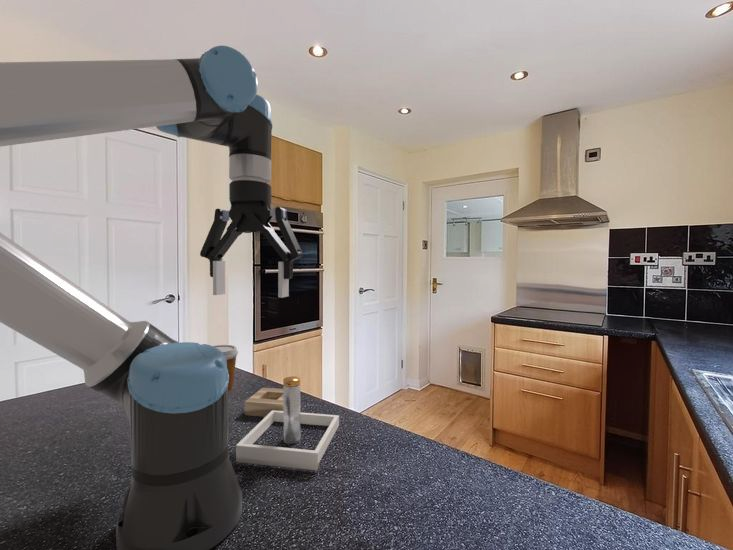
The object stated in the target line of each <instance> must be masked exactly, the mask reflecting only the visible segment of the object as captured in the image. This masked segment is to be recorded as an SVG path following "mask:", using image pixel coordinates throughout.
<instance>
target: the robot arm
mask: <svg viewBox="0 0 733 550" xmlns="http://www.w3.org/2000/svg"><path fill="white" fill-rule="evenodd" d="M258 86H259V83H258V78H257V73H256V71H255V69H254V67H253V64H252V63H251V62H250V60H249V59H248V58H247V57H246V56H245V55H244V53H241V52H240V51H239V50H237V49H235V48H233V47H232V46H228V45H217V46H213V47H212V48H210V49H209V50H206V51H205V52H204V53H202V54H201V56H200V57H197V58H175V59H174V58H172V59H170V58H169V59H120V60H119V59H117V60H116V59H113V60H111V59H110V60H108V59H107V60H65V61H63V60H62V61H56V60H55V61H50V60H49V61H8V62H7V61H2V62H0V148H1V147H8V146H15V145H16V146H17V145H21V144H22V145H23V144H30V143H38V142H39V143H40V142H45V141H52V140H53V141H54V140H59V139H69V138H75V137H76V138H77V137H83V136H93V135H99V134H105V133H106V134H107V133H115V132H122V131H129V130H130V131H131V130H137V129H145V128H153V127H156V129H157V130H159V131H160V132H163V133H164V134H165V133H166V134H169V135H173V136H174V137H175V136H176V137H177V138H186V139H190V140H196V141H201V142H203V143H204V142H205V143H210V144H213V145H219V146H224V147H228V152H229V155H228V158H229V162H228V163H229V165H228V167H229V168H228V169H229V170H228V171H229V172H228V175H229V176H228V177H229V180H231V182H230V183H229V184H228V185H229V189H228V190H229V193H228V194H229V195H228V196H229V198H228V199H229V202H230V209H229V210H225V209H222V208H215V210H214V216H213V219H214V220H213V222H212V223H211V227H210V229H209V231H208V233H207V236H206V239H205V240H204V243H203V246H202V247H201V250H200V252H199V255H200V257H201V258H206V259H208V261H209V277H210V278H212V295H213V296H221V295H225V294H226V261H225V260H224V259H223V258H224V256H225V255H226V253H228V251H229V249H230V248H231V247H232V246H233V244H234V243H235V242H236V240H237V239H238V237H240V236H241V235H242V234H243V233H244V234H251V233H255V234H261V235H263V236H264V237H265V238H266V240H267V241H268V243H269V244H270V245H271V246H272V248H273V249H274V251H275V252H276V253H277V254H278V255H279V257H280V259H281V260H280V261H277V262H278V263H277V264H278V267H277V269H278V270H277V271H278V273H277V274H278V276H277V280H278V282H277V285H278V286H277V287H278V289H277V290H278V293H277V296H278V298H281V299H283V298H287V297H290V293H289V292H290V289H289V288H290V287H289V286H290V285H289V283H290V282H289V281H290V280H291V279H293V277H294V262H295V261H296V260H298V259H301V258H303V257H304V253H303V250H302V249H301V246H300V243H298V239H297V238H296V235H295V234H294V231H293V229H292V227H291V224H290V222H289V219H288V212H287V211H288V210H287V209H285V208H283V207H280V206H277V207H276V208H273V209H272V208H271V206H272V186H271V185H270V183H271V182H272V134H273V133H272V130H273V122H272V121H273V119H272V112H271V111H272V108H271V104H270V103H269V101H268V100H267V99H266V98H265V97H263V96H261V95H260V94H257V93H258V90H259V89H258V88H259V87H258ZM272 218H273V220H275V222H276V224H277V226H278V229H279V231H280V233H281V235H282V237H283V239H284V242H285V243H284V242H283V241H282V240H281V238H280V236H278V234H277V233H276V232H275V228H273V226H272V225H271V224H270V221H271V219H272ZM230 220H231V221H230ZM228 221H230V224H229V225H228ZM227 225H228V226H227ZM226 227H227V228H226ZM225 229H226V231H225ZM224 232H225V233H224ZM223 233H224V234H223ZM285 244H286V245H285ZM0 323H1V324H3V325H5V326H6V327H8V328H9V329H11V330H13V331H15V332H16V333H18V334H20V335H22V336H24V337H25V338H27V339H28V340H30V341H32V342H35V343H36V344H38V345H40V346H41V347H43V348H45V349H46V350H48V351H50V352H52V353H53V354H55V355H57V356H58V357H60V358H62V359H63V360H65V361H67V362H69V363H70V364H73V365H75V366H76V367H78V368H80V369H81V370H82V371H83V377H84V385H85V386H87V387H88V388H90V389H92V390H93V391H95V392H97V393H98V394H101V395H103V396H104V397H106V398H108V399H109V400H111V401H113V402H115V403H117V404H119V405H120V406H121V407H123V409H124V412H125V413H126V416H127V419H128V421H129V422H128V423H129V431H130V464H131V480H130V483H129V486H128V488H127V492H126V494H125V495H126V496H125V497H124V501H123V503H122V504H123V505H122V508H121V511H120V514H119V517H118V519H117V522H116V527H115V539H116V540H115V542H116V543H115V544H116V546H115V547H116V550H211V549H213V548H214V547H215V546H217V545H218V544H220V543H221V542H222V541H224V539H225V538H227V537H228V535H230V534H231V533H232V532H233V530H234V528H236V526H237V525H238V523H239V521H240V519H241V516H242V514H243V513H242V512H243V492H242V488H241V485H240V483H239V481H238V478H237V475H236V472H235V469H234V467H233V463H232V462H231V459H230V456H229V391H228V383H229V374H228V369H227V361H226V358H225V355H224V354H223V353H222V352H221V351H220V350H219V349H217V348H216V347H214V346H215V345H210V344H207V343H203V344H200V343H199V342H194V341H193V342H192V341H190V342H187V341H186V342H185V341H184V342H179V341H177V340H176V339H173V338H171V337H170V336H169V335H167V334H166V333H165V332H163V331H162V330H160V329H159V328H157V326H155V325H153V324H151V323H150V322H149V321H147V320H141V321H129V320H127V319H126V318H125V317H123V316H122V315H120V314H119V313H118V312H116V311H115V310H113V309H112V308H110V307H109V306H107V305H106V303H105V304H104V302H101V300H99V299H97V298H96V297H94V296H93V295H92V294H90V293H89V292H88V291H85V289H83V288H81V287H80V286H78V285H77V284H76V283H74V282H73V281H71V280H70V279H68V278H67V277H65V276H64V274H61V273H60V272H58V271H57V270H56V269H54V268H52V267H51V266H49V265H48V264H46V263H45V262H44V261H42V260H41V259H39V258H38V257H37V256H35V255H34V254H32V253H31V252H29V251H28V250H27V249H25V248H23V247H22V246H21V245H19V243H16V242H15V241H14V240H12V239H10V238H9V237H7V236H6V235H5V234H3V233H2V232H0Z"/></svg>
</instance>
